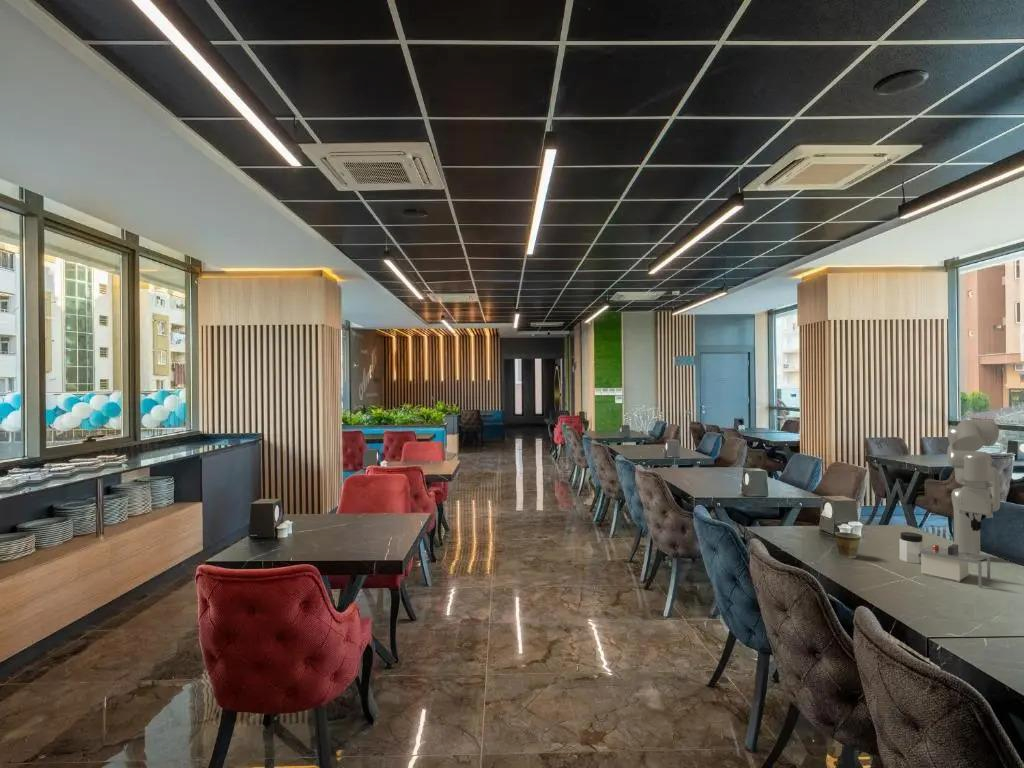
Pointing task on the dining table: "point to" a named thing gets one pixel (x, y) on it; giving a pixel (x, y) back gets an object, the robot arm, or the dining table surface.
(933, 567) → the white box with rails
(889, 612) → the dining table surface
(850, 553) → the ceramic cup
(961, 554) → the lid
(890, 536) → the dining table surface
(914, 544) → the jar
